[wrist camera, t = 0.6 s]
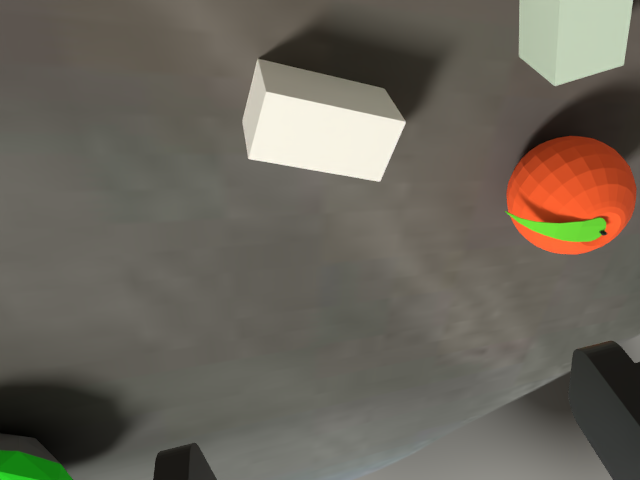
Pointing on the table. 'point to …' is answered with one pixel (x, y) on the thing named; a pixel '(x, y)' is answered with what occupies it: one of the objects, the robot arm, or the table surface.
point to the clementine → (571, 195)
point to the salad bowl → (28, 460)
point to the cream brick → (320, 122)
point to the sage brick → (573, 36)
